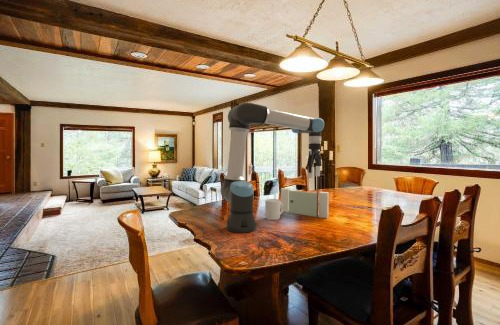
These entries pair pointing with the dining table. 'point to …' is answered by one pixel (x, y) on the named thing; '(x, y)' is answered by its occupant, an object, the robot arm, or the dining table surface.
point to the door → (303, 203)
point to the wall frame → (322, 202)
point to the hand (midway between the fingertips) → (314, 177)
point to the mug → (272, 209)
